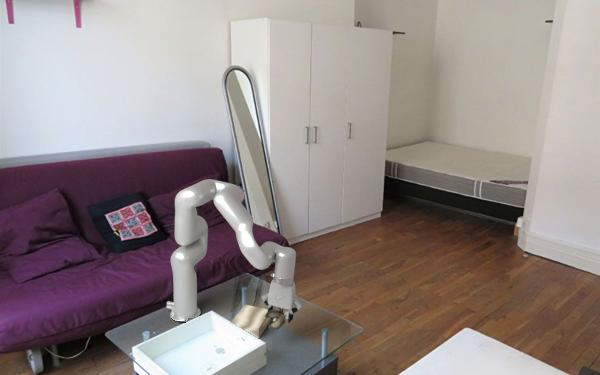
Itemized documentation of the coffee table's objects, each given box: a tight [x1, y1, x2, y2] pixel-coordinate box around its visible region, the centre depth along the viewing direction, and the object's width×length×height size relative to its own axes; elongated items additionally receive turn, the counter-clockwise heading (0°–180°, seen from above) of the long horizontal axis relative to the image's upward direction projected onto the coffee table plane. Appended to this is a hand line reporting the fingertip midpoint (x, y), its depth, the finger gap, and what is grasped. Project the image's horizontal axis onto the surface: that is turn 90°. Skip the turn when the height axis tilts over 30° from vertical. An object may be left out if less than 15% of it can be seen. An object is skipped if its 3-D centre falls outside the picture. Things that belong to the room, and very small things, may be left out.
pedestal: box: [230, 304, 272, 339], centre depth 194 cm, size 12×14×5 cm
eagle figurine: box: [265, 307, 290, 331], centre depth 183 cm, size 8×7×9 cm
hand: (280, 318), depth 184 cm, fingers closed on eagle figurine, 7 cm apart
